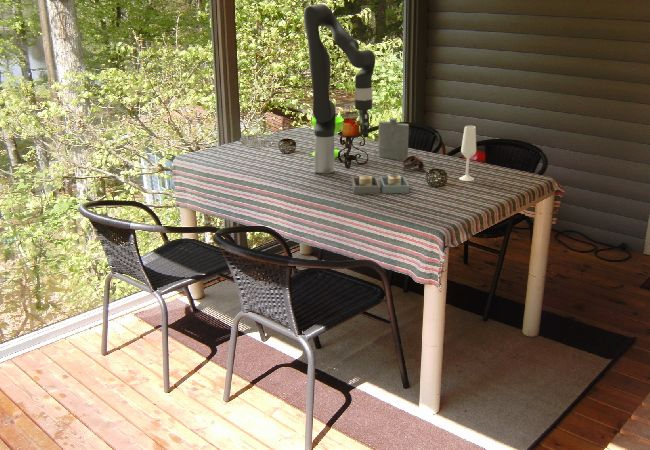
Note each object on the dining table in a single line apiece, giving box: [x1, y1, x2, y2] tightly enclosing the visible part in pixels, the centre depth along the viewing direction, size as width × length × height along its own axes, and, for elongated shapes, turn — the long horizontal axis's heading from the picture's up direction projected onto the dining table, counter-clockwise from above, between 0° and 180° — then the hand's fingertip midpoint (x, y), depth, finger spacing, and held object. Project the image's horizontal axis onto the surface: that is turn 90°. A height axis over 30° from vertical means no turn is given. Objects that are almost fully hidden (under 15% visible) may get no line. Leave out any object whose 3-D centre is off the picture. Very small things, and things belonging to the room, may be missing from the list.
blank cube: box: [358, 175, 372, 186], centre depth 316 cm, size 5×5×5 cm
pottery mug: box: [402, 154, 425, 172], centre depth 346 cm, size 12×10×8 cm
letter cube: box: [387, 174, 402, 186], centre depth 317 cm, size 5×5×5 cm
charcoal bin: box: [351, 176, 381, 195], centre depth 317 cm, size 11×14×4 cm
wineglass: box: [311, 116, 345, 159], centre depth 370 cm, size 16×16×18 cm
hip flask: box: [377, 117, 410, 161], centre depth 364 cm, size 16×4×20 cm, turn 60°
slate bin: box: [379, 176, 410, 194], centre depth 317 cm, size 11×14×4 cm
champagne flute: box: [458, 125, 477, 182], centre depth 328 cm, size 7×7×24 cm
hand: (364, 135), depth 320 cm, fingers open, 8 cm apart
